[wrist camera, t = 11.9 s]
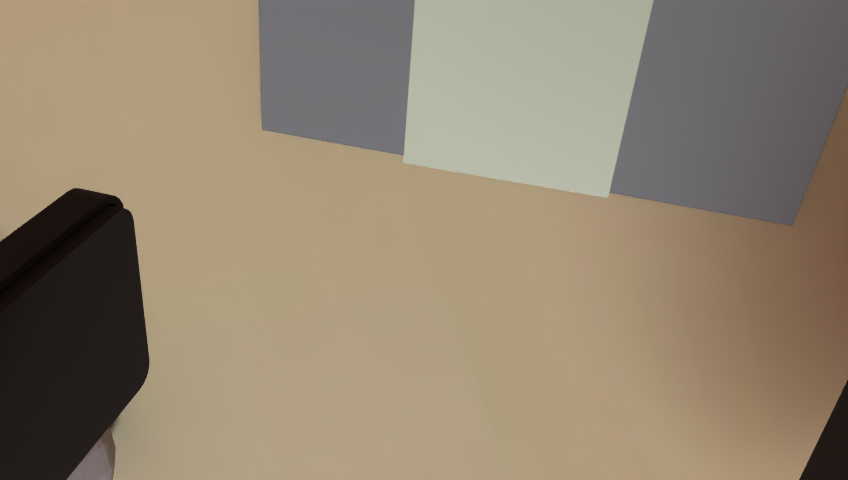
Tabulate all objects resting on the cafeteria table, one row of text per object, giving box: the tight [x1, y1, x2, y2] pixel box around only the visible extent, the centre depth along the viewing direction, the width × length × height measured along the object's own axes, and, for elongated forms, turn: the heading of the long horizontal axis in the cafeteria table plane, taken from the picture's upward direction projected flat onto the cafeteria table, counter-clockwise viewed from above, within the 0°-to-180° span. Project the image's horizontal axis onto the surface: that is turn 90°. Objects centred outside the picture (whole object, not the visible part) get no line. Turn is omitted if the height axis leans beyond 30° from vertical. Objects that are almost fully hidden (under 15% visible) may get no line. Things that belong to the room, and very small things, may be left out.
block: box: [403, 0, 654, 198], centre depth 21 cm, size 5×5×7 cm
